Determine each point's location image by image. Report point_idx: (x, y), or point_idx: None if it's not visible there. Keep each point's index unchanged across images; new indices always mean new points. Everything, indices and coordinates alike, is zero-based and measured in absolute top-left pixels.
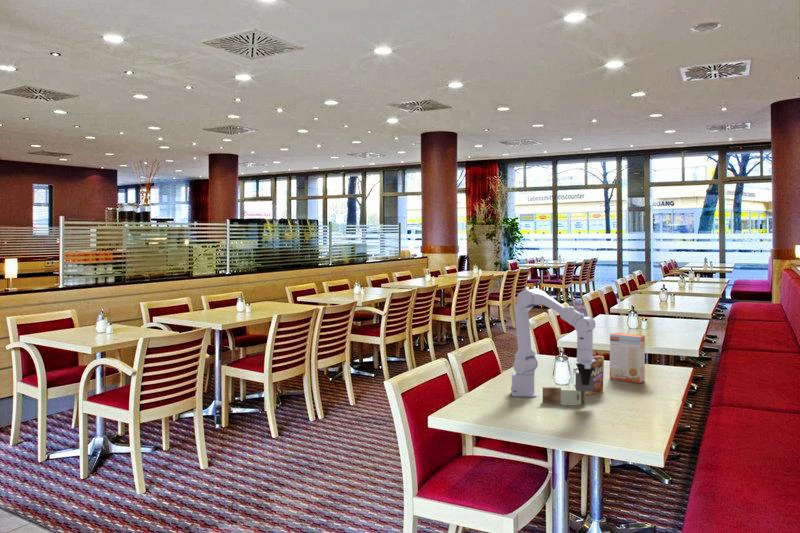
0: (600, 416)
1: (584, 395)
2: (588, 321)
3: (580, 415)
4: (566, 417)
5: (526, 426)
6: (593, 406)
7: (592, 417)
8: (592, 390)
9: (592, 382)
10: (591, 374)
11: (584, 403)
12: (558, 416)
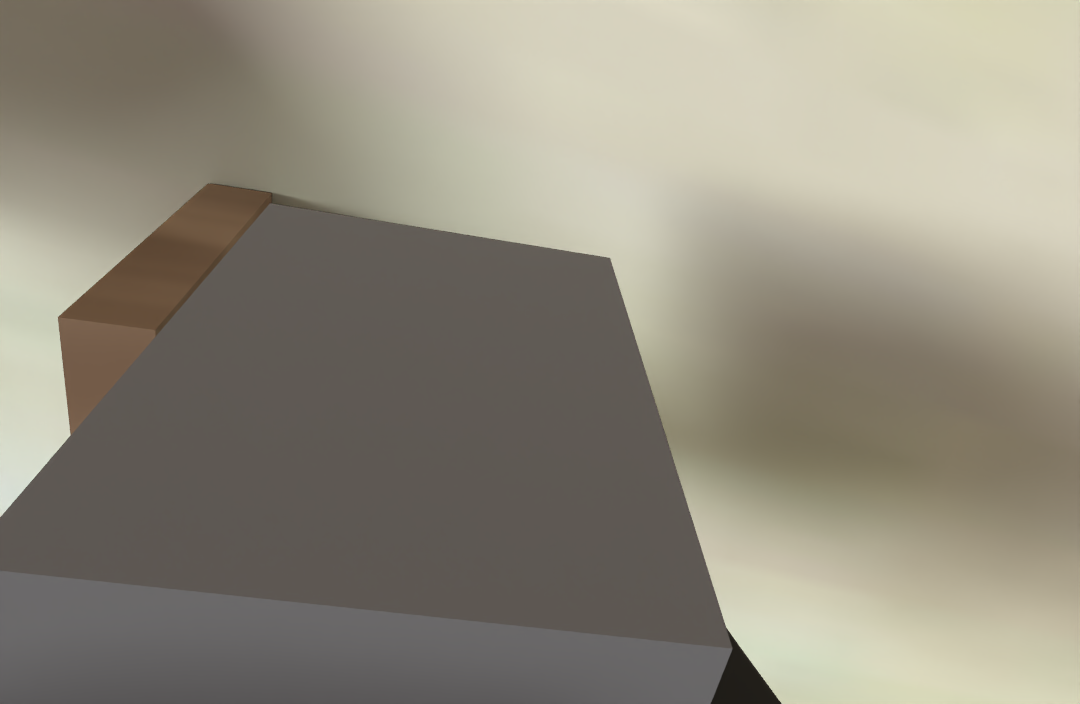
0: (1072, 164)
1: (216, 265)
2: None
3: (919, 449)
4: (948, 625)
5: None
6: (429, 67)
7: (1071, 313)
8: (613, 286)
9: (648, 431)
10: (310, 645)
11: (266, 201)
12: (881, 691)
